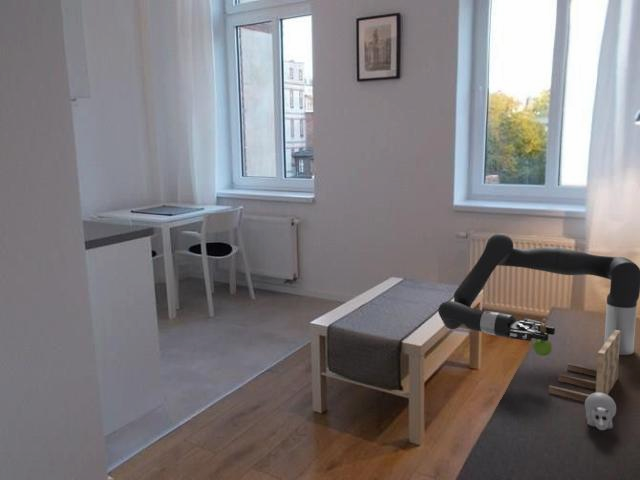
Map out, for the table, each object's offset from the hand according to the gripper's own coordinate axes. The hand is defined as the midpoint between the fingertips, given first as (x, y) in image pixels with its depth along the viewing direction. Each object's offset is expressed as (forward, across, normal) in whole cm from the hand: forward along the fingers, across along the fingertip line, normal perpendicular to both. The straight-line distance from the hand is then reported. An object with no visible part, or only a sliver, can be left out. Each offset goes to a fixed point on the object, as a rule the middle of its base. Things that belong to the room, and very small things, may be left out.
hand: (551, 334), depth 169 cm
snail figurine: (-2, 0, +7) cm, 8 cm away
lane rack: (+8, +5, +17) cm, 19 cm away
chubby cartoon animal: (+19, -19, +17) cm, 31 cm away
